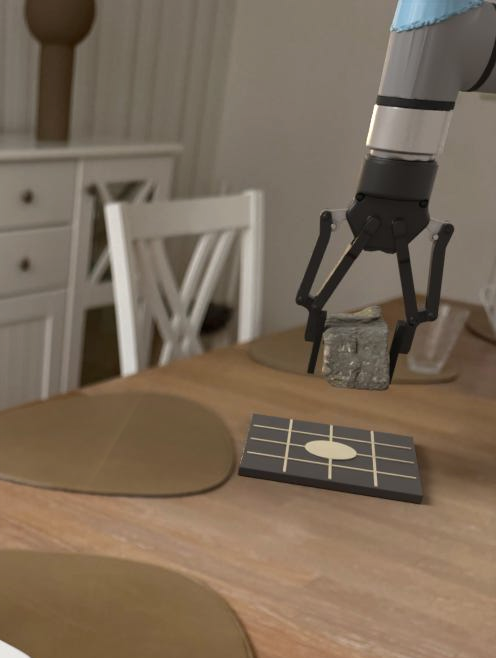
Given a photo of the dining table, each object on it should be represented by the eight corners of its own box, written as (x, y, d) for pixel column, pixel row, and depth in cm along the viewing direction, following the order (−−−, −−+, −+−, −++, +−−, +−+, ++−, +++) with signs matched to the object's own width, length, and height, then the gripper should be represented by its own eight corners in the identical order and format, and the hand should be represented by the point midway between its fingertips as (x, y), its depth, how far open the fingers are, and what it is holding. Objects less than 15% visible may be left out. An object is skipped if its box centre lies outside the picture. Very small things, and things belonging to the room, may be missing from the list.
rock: (286, 314, 117) (370, 296, 116) (290, 370, 120) (371, 352, 119) (334, 349, 102) (430, 328, 101) (336, 412, 105) (429, 392, 105)
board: (410, 444, 124) (413, 435, 123) (421, 504, 107) (423, 494, 106) (251, 420, 128) (252, 411, 127) (237, 474, 111) (239, 465, 111)
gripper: (503, 161, 101) (439, 379, 113) (300, 143, 105) (259, 355, 117) (514, 168, 95) (445, 398, 107) (298, 148, 99) (255, 371, 111)
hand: (348, 375), depth 112 cm, fingers closed on rock, 8 cm apart
